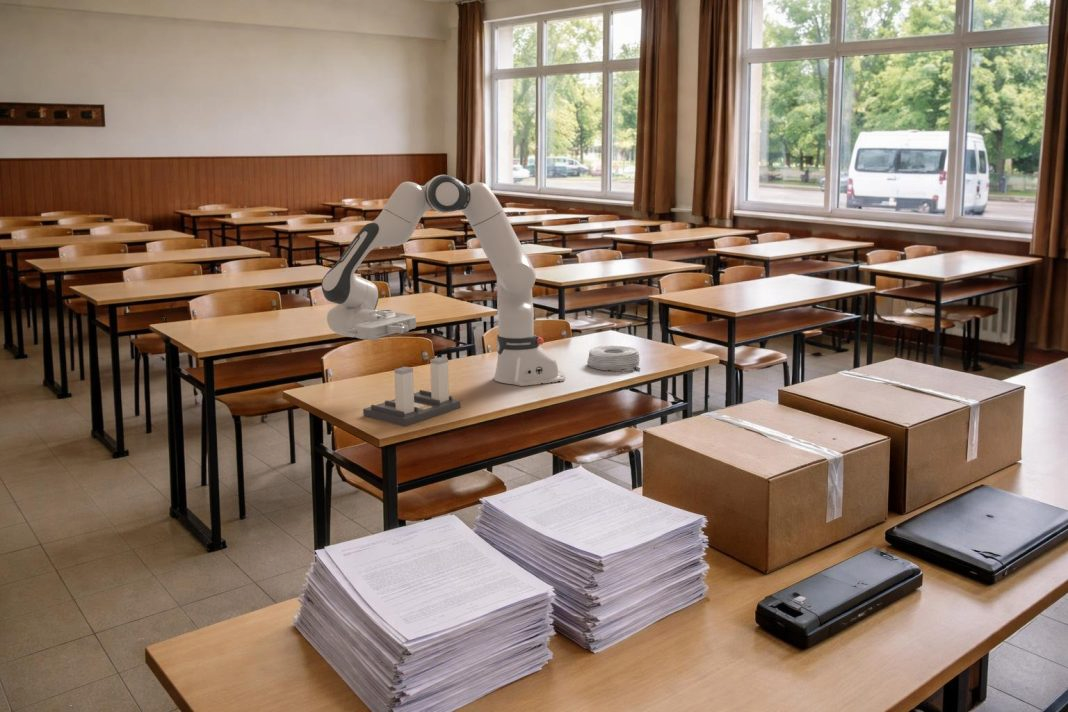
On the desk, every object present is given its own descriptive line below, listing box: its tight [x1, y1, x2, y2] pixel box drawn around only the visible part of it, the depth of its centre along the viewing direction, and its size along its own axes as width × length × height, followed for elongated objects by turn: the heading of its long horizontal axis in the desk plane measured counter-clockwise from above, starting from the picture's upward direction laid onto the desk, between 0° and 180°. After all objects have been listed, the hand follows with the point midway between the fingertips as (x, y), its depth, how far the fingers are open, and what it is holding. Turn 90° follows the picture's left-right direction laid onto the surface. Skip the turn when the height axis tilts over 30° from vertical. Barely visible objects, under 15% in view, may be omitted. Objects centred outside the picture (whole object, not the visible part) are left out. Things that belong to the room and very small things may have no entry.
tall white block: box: [429, 356, 450, 403], centre depth 261 cm, size 3×4×12 cm
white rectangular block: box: [393, 366, 415, 414], centre depth 250 cm, size 3×4×12 cm
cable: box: [586, 345, 641, 373], centre depth 312 cm, size 18×18×6 cm
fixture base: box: [362, 389, 461, 427], centre depth 259 cm, size 16×22×3 cm
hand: (405, 329), depth 266 cm, fingers closed
